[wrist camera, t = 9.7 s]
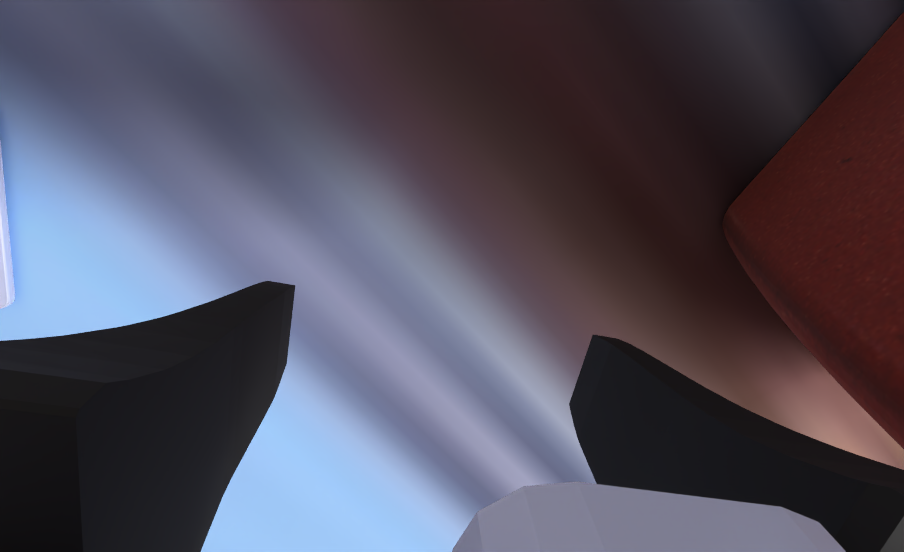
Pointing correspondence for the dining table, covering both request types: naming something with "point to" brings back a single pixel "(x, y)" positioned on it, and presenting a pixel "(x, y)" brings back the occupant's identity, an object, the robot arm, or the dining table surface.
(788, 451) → the robot arm
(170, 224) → the dining table surface
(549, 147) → the dining table surface
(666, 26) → the dining table surface
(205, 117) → the dining table surface
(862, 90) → the plant pot
